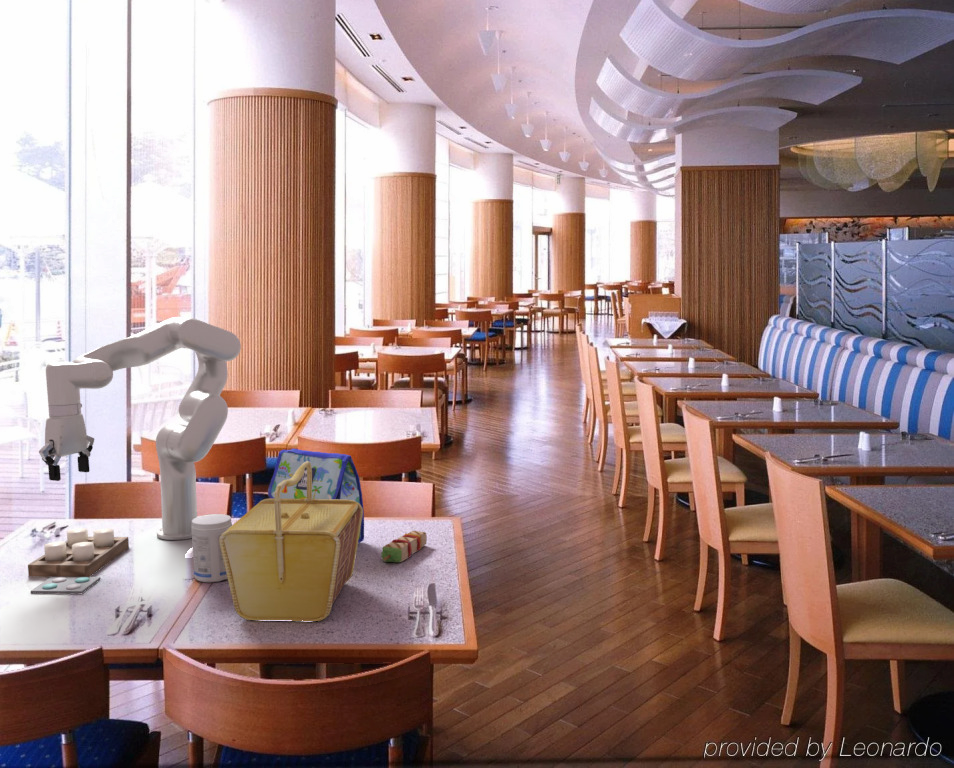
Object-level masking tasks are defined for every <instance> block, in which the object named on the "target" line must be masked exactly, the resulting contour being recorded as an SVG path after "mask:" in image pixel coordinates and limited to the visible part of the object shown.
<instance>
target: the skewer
mask: <svg viewBox="0 0 954 768" xmlns="http://www.w3.org/2000/svg"><path fill="white" fill-rule="evenodd" d="M427 538H428V536H427V533H426V532H425V531H419V530H412V531H410V532H408V533H405V534H403V535H402V536H399V537H398V538H395V539H393V540H392V541H390V542H389V543H387V544H385V545H384V546H383V547H382V549H381V555H380V558H381V560H382V561H383V562H387V563H388V562H389V563H392V562H393V563H402V562H404V561H405V560H406V559H409V558H410V557H412V556H413V555H414V553H417V552H418V551H420V550H422V548H423V547H424V546H426V545H427V541H428V540H427Z"/></svg>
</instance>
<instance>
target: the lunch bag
mask: <svg viewBox="0 0 954 768" xmlns="http://www.w3.org/2000/svg"><path fill="white" fill-rule="evenodd" d="M306 461H309V462H310V463H311V467H312V499H344V500H354V501H356V502H358V503H359V504H360V505H361V506H362V508H363V516H362V522H361V528H360V534H359V539H358V544H359V543H362V542H363V541H364V540H365V511H364V503H363V502H364V501H363V493H362V487H361V486H362V485H361V481H360V476H359V473H358V470H357V468H356V465H355V463H354V460H353V458H352V456H351V455H349V454H346V453H345V454H344V453H338V452H337V453H335V452H334V453H333V452H331V453H330V452H321V451H312V450H311V451H310V450H303V449H298V448H291V449H282V450H280V451H279V452H278V457H277V459H276V463H275V466H274V471H273V475H272V477H271V479H270V482H269V486H268V489H267V497H268V499H269V498H274V496H275V490H276V487H277V486H278V484H279V483H281V482H282V481H284V480H287V479H291V478H292V477H293V475H294V474H295V472H296V471H297V469H298V468H299V467H300V466H301V465H302V464H303V463H304V462H306ZM280 499H307V468H305V470H304V475H303V476H302V478H301V480H300V481H299V482H298V483H297V484H295V485H294V486H284V487H283V488H282V490H281V495H280Z"/></svg>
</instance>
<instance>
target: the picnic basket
mask: <svg viewBox="0 0 954 768" xmlns="http://www.w3.org/2000/svg"><path fill="white" fill-rule="evenodd" d="M305 468H307V499H280V495H281V490H282V488H283V487H284V486H294V485H295V484H297V483H298V482H299V481H300V480H301V478H302V476H303V475H304V470H305ZM363 509H364V507H363V508H362V506H361V505H360V504H359V503H358V502H356V501H354V500H344V499H312V467H311V463H310V462H309V461H306V462H304V463H303V464H302V465H301V466H300V467H299V468H298V469H297V471H296V472H295V474H294V475H293V477H292V478H291V479H287V480H284V481H282V482H281V483H279V484H278V486H277V487H276V490H275V496H274V498H269V497H268V498H264V499H262V500H260V501H258V503H256V505H254V506H253V507H251V509H250V510H249V511H247V512H246V513H245V514H244V515H243V516H241V517H240V518H239V519H238V520H237V521H236V522H234V524H233V523H232V526H231V527H230V528H229V529H227V530H226V531H225V532H224V533H222V535H221V536H220V539H219V544H220V548H221V552H222V557H223V561H224V565H225V570H226V574H227V578H228V579H227V583H228V586H229V589H230V590H229V591H230V596H231V600H232V604H233V607H234V610H235V612H236V614H238V616H240V618H243V619H244V620H246V621H250V620H292V621H302V620H303V621H318V622H321V621H323V620H324V619H326V618H327V617H328V616H329V615H330V614H331V611H332V606H333V604H334V602H335V601H336V600H337V598H338V595H339V594H340V592H341V591H342V589H343V587H344V586H345V584H346V582H347V581H349V580H350V579H351V578H352V577H353V576H352V575H353V573H354V569H355V564H356V562H355V561H356V556H357V551H358V545H359V543H358V539H359V534H360V528H361V522H362V516H363Z"/></svg>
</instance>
